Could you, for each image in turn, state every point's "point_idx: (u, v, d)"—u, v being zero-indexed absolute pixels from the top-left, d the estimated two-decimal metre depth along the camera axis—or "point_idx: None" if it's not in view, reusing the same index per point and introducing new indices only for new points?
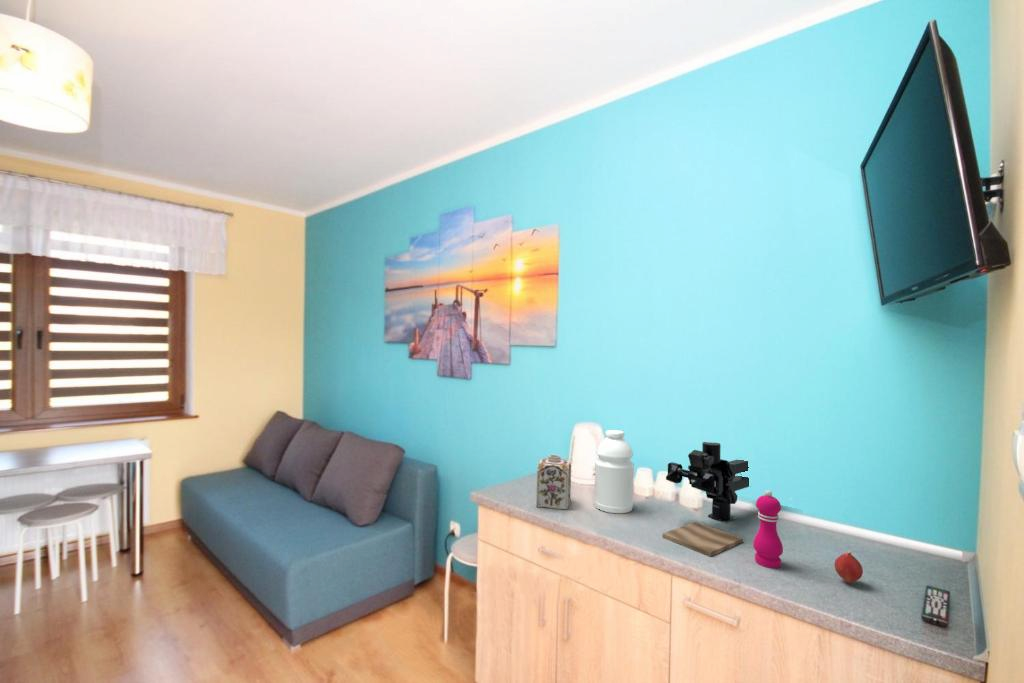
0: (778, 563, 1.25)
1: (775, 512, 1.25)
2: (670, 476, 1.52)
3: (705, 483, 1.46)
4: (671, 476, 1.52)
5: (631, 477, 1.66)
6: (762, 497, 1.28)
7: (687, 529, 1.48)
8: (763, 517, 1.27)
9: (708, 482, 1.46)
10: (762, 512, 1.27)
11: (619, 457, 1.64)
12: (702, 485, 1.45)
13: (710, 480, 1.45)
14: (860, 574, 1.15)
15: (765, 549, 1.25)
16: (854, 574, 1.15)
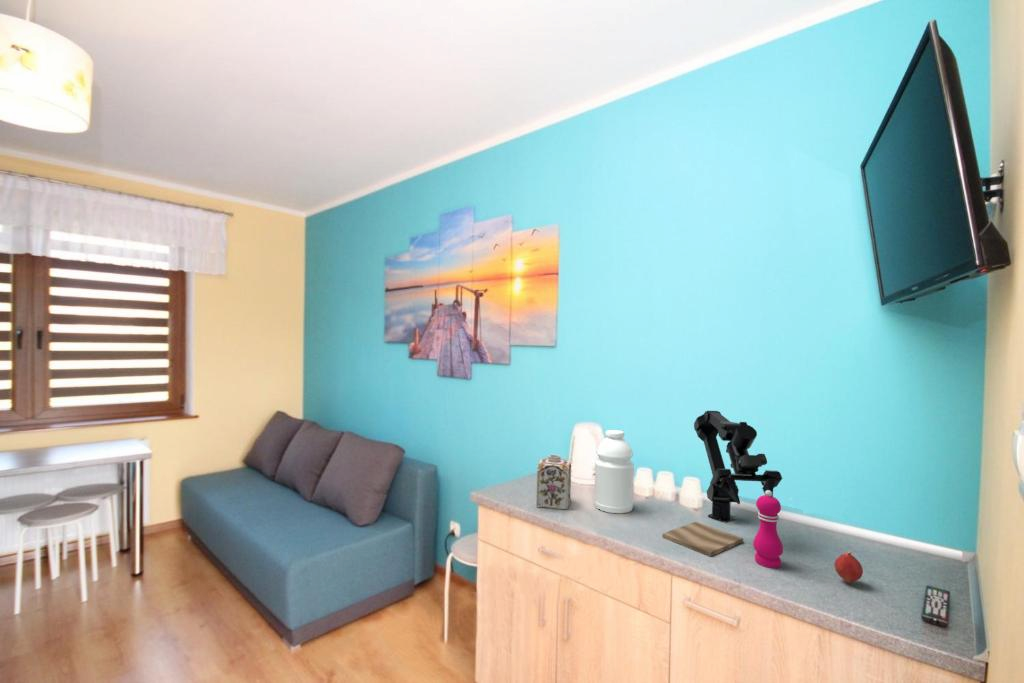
0: (778, 563, 1.25)
1: (775, 512, 1.25)
2: None
3: None
4: None
5: (631, 477, 1.66)
6: (762, 497, 1.28)
7: (687, 529, 1.48)
8: (763, 517, 1.27)
9: None
10: (762, 512, 1.27)
11: (619, 457, 1.64)
12: None
13: None
14: (860, 574, 1.15)
15: (765, 549, 1.25)
16: (854, 574, 1.15)
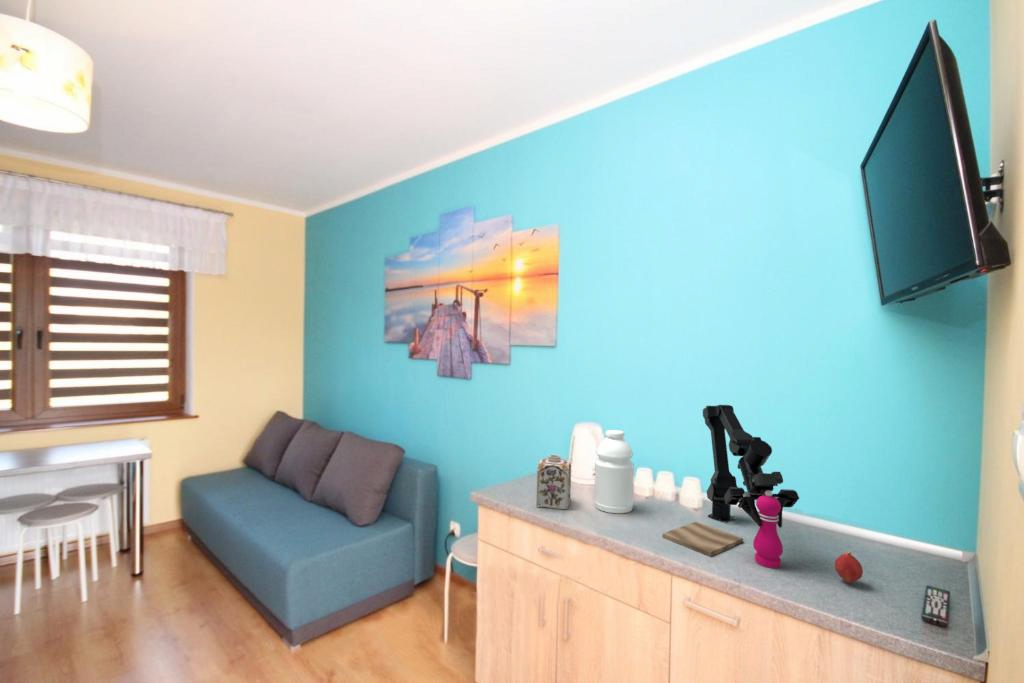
0: (778, 563, 1.25)
1: (775, 512, 1.25)
2: None
3: None
4: None
5: (631, 477, 1.66)
6: (762, 497, 1.28)
7: (687, 529, 1.48)
8: (763, 517, 1.27)
9: None
10: (762, 512, 1.27)
11: (619, 457, 1.64)
12: None
13: None
14: (860, 574, 1.15)
15: (765, 549, 1.25)
16: (854, 574, 1.15)
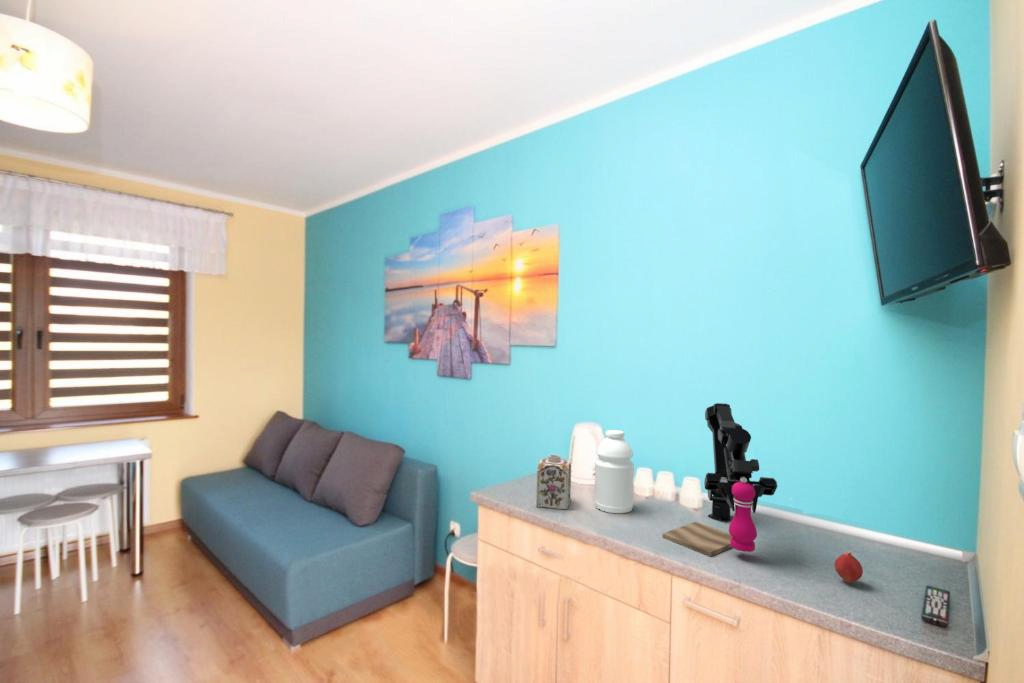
0: (750, 547, 1.28)
1: (748, 498, 1.28)
2: None
3: None
4: None
5: (631, 477, 1.66)
6: (737, 483, 1.31)
7: (687, 529, 1.48)
8: (736, 502, 1.30)
9: None
10: (736, 497, 1.31)
11: (619, 457, 1.64)
12: None
13: None
14: (860, 574, 1.15)
15: (737, 533, 1.29)
16: (854, 574, 1.15)
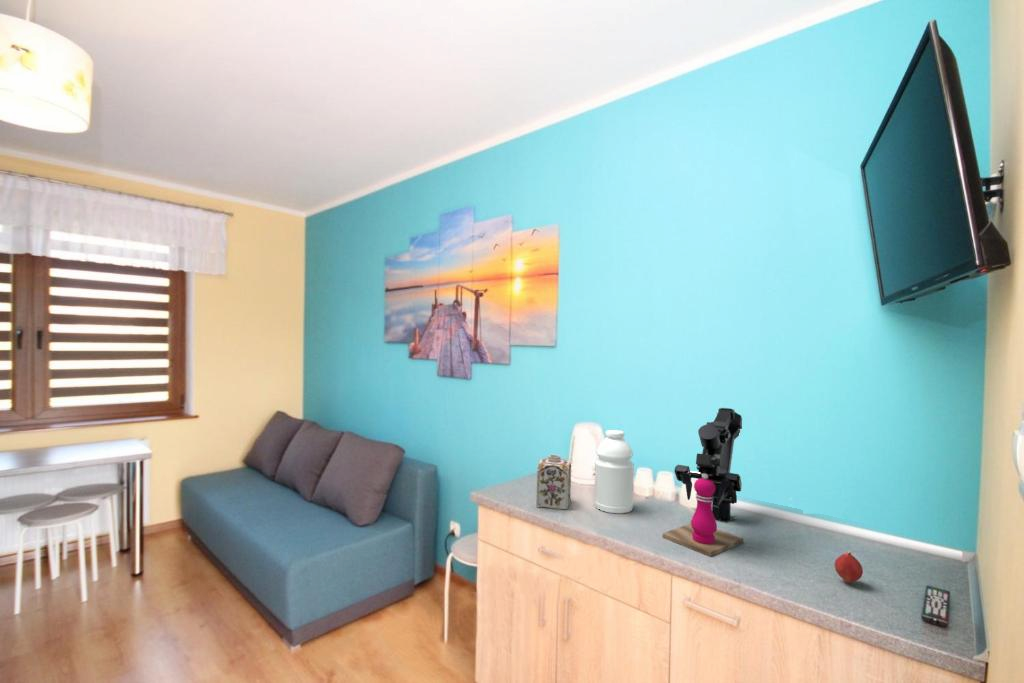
0: (706, 540, 1.36)
1: (704, 493, 1.37)
2: (689, 493, 1.42)
3: None
4: (690, 491, 1.42)
5: (631, 477, 1.66)
6: (698, 479, 1.40)
7: (687, 529, 1.48)
8: (696, 496, 1.40)
9: None
10: None
11: (619, 457, 1.64)
12: (723, 494, 1.38)
13: (728, 485, 1.38)
14: (860, 574, 1.15)
15: (694, 525, 1.38)
16: (854, 574, 1.15)
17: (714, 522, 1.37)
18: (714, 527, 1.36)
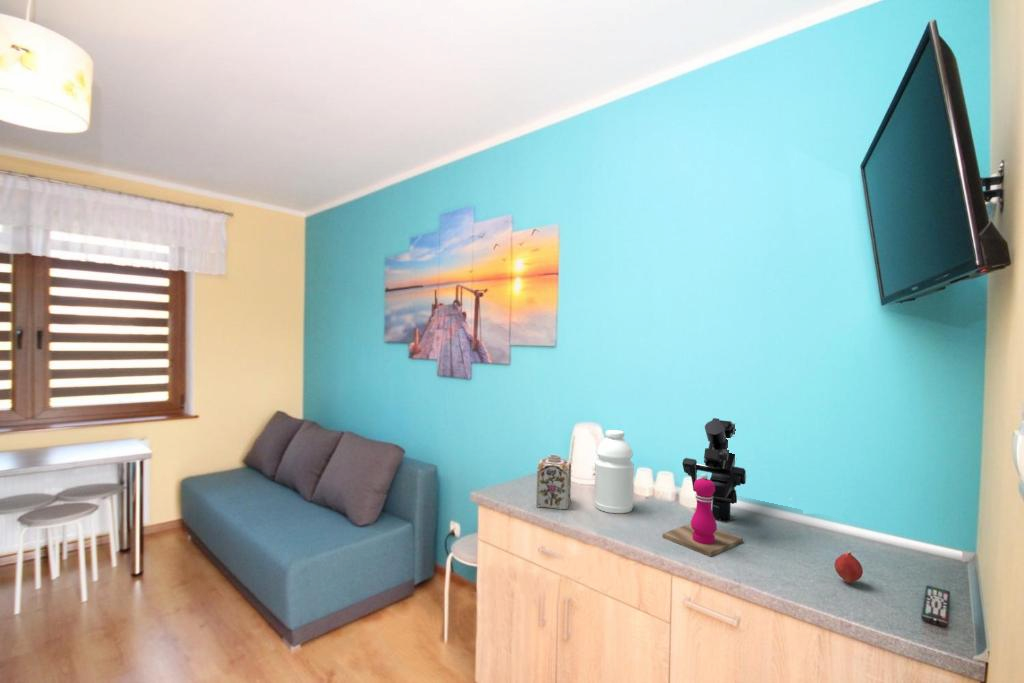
0: (706, 540, 1.36)
1: (704, 493, 1.37)
2: None
3: None
4: None
5: (631, 477, 1.66)
6: (698, 479, 1.40)
7: (687, 529, 1.48)
8: (696, 496, 1.40)
9: None
10: (696, 492, 1.40)
11: (619, 457, 1.64)
12: (731, 487, 1.46)
13: (736, 478, 1.45)
14: (860, 574, 1.15)
15: (694, 525, 1.38)
16: (854, 574, 1.15)
17: (714, 522, 1.37)
18: (714, 527, 1.36)
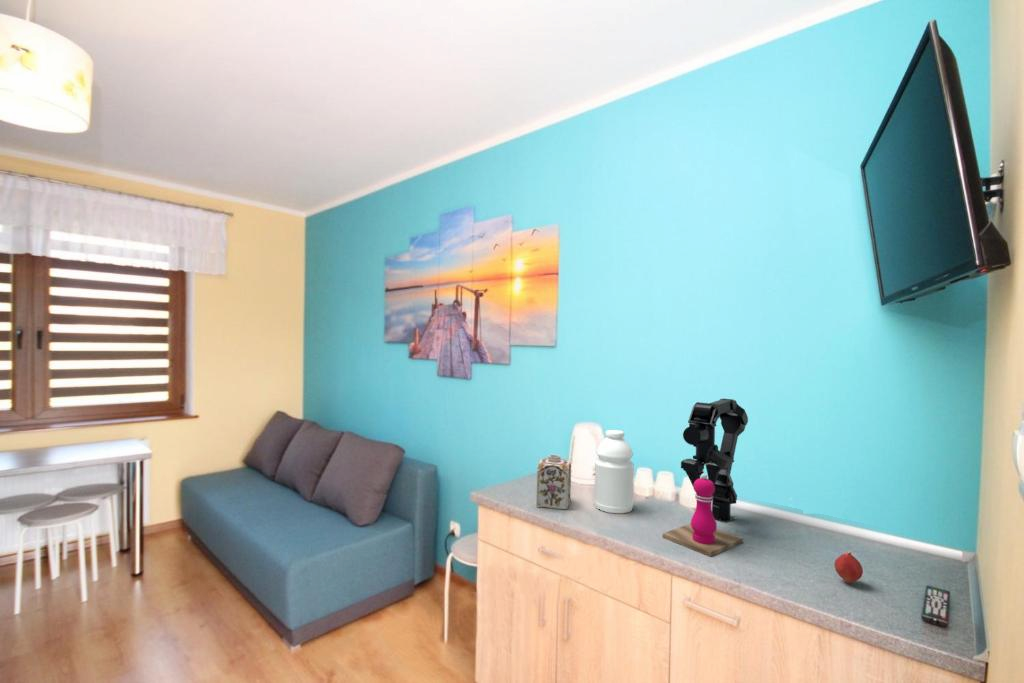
0: (706, 540, 1.36)
1: (703, 493, 1.37)
2: None
3: None
4: None
5: (631, 477, 1.66)
6: (698, 479, 1.40)
7: (687, 529, 1.48)
8: (695, 496, 1.40)
9: None
10: None
11: (619, 457, 1.64)
12: None
13: None
14: (860, 574, 1.15)
15: (694, 525, 1.38)
16: (854, 574, 1.15)
17: (714, 522, 1.37)
18: (714, 527, 1.36)
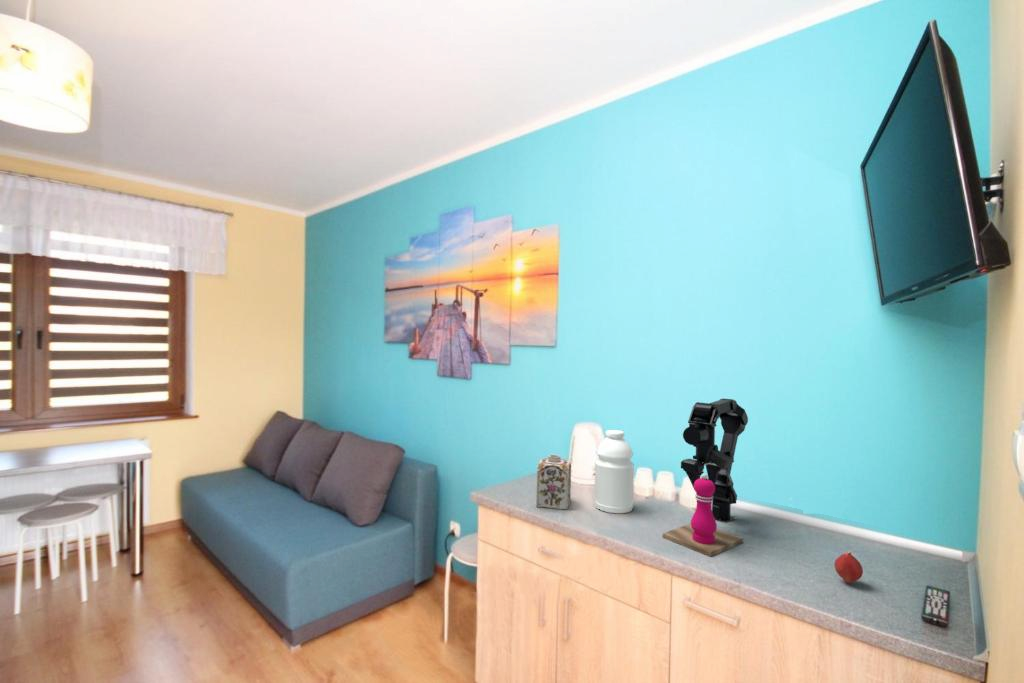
0: (706, 540, 1.36)
1: (704, 493, 1.37)
2: None
3: None
4: None
5: (631, 477, 1.66)
6: (698, 479, 1.40)
7: (687, 529, 1.48)
8: (696, 496, 1.40)
9: None
10: (696, 492, 1.40)
11: (619, 457, 1.64)
12: None
13: None
14: (860, 574, 1.15)
15: (694, 525, 1.38)
16: (854, 574, 1.15)
17: (714, 522, 1.37)
18: (714, 527, 1.36)
